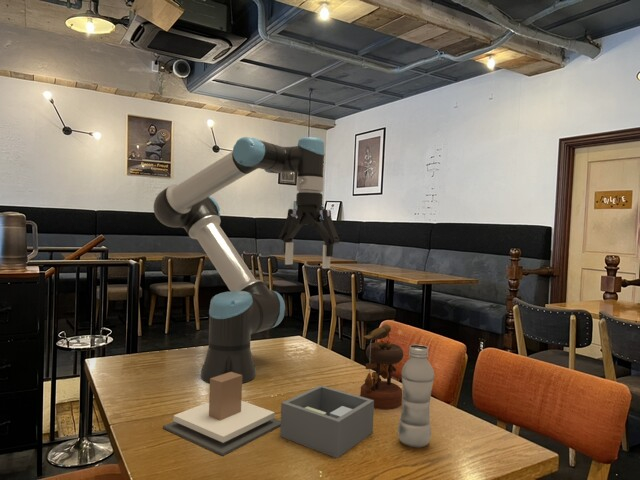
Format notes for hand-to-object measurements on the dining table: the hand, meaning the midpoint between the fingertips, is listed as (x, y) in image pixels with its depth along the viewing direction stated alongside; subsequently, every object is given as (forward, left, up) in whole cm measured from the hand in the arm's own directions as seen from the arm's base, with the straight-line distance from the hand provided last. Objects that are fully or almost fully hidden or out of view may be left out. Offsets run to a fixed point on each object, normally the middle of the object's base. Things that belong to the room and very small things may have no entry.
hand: (306, 266), depth 133 cm
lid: (+8, -38, -30) cm, 49 cm away
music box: (+27, -2, -32) cm, 42 cm away
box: (+27, -27, -32) cm, 49 cm away
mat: (+8, -38, -32) cm, 50 cm away
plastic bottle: (+43, -19, -32) cm, 57 cm away
